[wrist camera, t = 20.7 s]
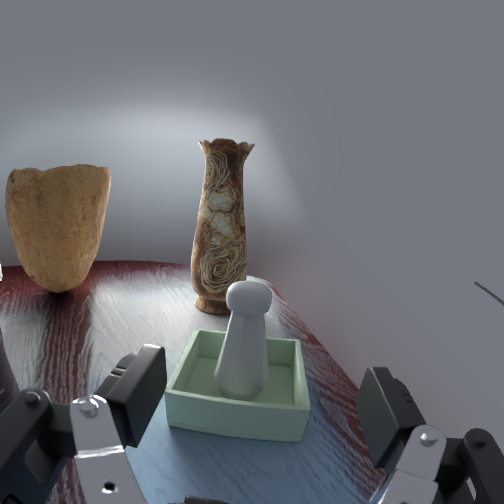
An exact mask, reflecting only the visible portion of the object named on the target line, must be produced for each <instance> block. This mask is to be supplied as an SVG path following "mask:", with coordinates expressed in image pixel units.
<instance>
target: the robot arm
mask: <svg viewBox="0 0 504 504" xmlns="http://www.w3.org/2000/svg"><path fill="white" fill-rule="evenodd" d="M475 284H476V285H478V286H479V287H480V288H482V289H483V290H485V291H486V292H487V293H489V294H490V295H491V296H493V297H494V298H495V299H497V300H498V301H499V302H500V303H501V304H503V305H504V302H503V301H502V300H501V299H499V298H498V297H497V296H495V295H494V294H493V293H491V292H490V291H489V290H487V289H486V288H484V287H483V286H481V285H480V284H478V283H477V282H475ZM166 384H167V372H166V358H165V349H164V347H160V346H155V345H150V344H144V346H143V347H142V348H141V350H140V351H139V352H138V354H134V353H131V354H129V355H127V356H125V357H124V358H122V359H121V360H120V361H119V363H118V364H117V365H116V368H114V369H113V370H112V371H111V374H109V375H108V376H107V378H106V379H105V380H104V382H103V383H102V384H101V385H100V387H99V388H98V389H97V390H96V392H95V393H94V394H93V395H85V396H81V397H78V398H77V399H75V400H74V401H73V402H72V403H71V404H66V403H58V402H51V400H50V397H49V395H48V393H47V392H46V391H44V390H43V389H40V388H28V389H25V390H23V391H21V392H20V393H19V394H18V395H17V396H16V397H15V398H14V399H13V401H12V402H11V403H10V404H9V405H8V406H7V407H6V408H5V409H4V411H3V412H2V413H1V414H0V504H45V502H46V500H47V498H48V496H49V494H50V492H51V491H52V489H53V487H54V485H55V483H56V481H57V479H58V478H59V476H60V474H61V472H62V470H63V469H64V467H65V465H66V463H67V461H68V460H69V458H72V459H75V463H76V468H77V472H78V476H79V480H80V484H81V487H82V491H83V494H84V498H85V501H86V504H147V501H146V499H145V497H144V495H143V493H142V491H141V489H140V487H139V485H138V482H137V480H136V478H135V475H134V473H133V471H132V468H131V466H130V464H129V461H128V459H127V456H126V453H125V451H124V450H125V448H126V446H127V445H128V446H131V447H135V448H137V447H138V445H139V443H140V441H141V439H142V437H143V434H144V432H145V430H146V428H147V426H148V424H149V422H150V420H151V418H152V416H153V414H154V412H155V410H156V408H157V406H158V404H159V402H160V400H161V398H162V396H163V394H164V392H165V389H166ZM356 411H357V414H358V417H359V420H360V424H361V427H362V430H363V433H364V437H365V440H366V443H367V447H368V450H369V454H370V457H371V460H372V464H373V468H374V469H381V468H385V470H386V473H385V475H384V476H383V478H382V479H381V481H380V483H379V484H378V486H377V488H376V489H375V491H374V493H373V494H372V496H371V498H370V499H369V501H368V502H367V504H432V502H433V500H435V503H436V504H504V456H503V454H502V452H501V450H500V448H499V447H498V445H497V443H496V442H495V440H494V438H493V437H492V435H491V434H490V433H489V432H487V431H486V430H483V429H479V428H475V429H471V430H469V431H468V432H467V433H466V435H465V436H464V438H463V439H457V438H456V439H455V438H446V436H445V434H444V433H443V431H442V430H440V429H439V428H437V427H435V426H432V425H427V424H426V422H425V420H424V418H423V416H422V415H421V413H420V411H419V409H418V407H417V406H416V404H415V402H414V401H413V398H412V396H410V393H409V391H408V389H407V388H406V386H405V385H404V384H402V382H400V381H399V380H398V379H393V377H392V375H391V374H390V372H389V370H388V368H387V367H369V368H368V369H367V370H366V372H365V375H364V378H363V381H362V384H361V387H360V389H359V392H358V395H357V398H356ZM32 444H33V445H32ZM30 447H31V448H30ZM28 450H29V451H28ZM26 453H27V454H26ZM469 478H471V481H472V483H473V485H474V488H475V490H476V499H475V501H474V499H473V497H472V494H471V492H470V489H469V487H468V484H467V482H466V481H467V480H468V479H469ZM169 504H229V503H226V502H223V501H218V500H211V499H205V498H200V497H194V496H189V495H186V498H185V501H184V503H169Z"/></svg>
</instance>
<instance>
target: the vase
mask: <svg viewBox="0 0 504 504" xmlns="http://www.w3.org/2000/svg"><path fill="white" fill-rule="evenodd" d="M198 142H199V145H200V146H201V148H202V151H203V153H204V155H205V159H206V164H205V175H204V182H203V190H202V196H201V201H200V207H199V214H198V220H197V226H196V231H195V238H194V244H193V251H192V258H191V281H192V285H193V289H194V291H195V292H196V293H197V294H198V297H197V299H196V301H195V306H196V307H197V308H198V309H200V310H202V311H204V312H208V313H213V314H225V313H231V312H232V311H231V310H230V309H229V308H228V306H227V304H226V294H227V290H228V288H229V287H230V285H232V284H233V283H235V282H238V281H246V276H247V248H246V234H245V218H244V202H243V165H244V162H245V160H246V158H247V156H248V155H249V153H250V151H251V150H252V148H253V147H254V146H255V145H254V144H250V145H248V143H247V142H241V143H239V144H237V143H236V142H235V141H234V140H232V139H223V138H216V139H214V140H213V142H209V141H207V140H204V141H203V143H202V142H200V141H198Z"/></svg>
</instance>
